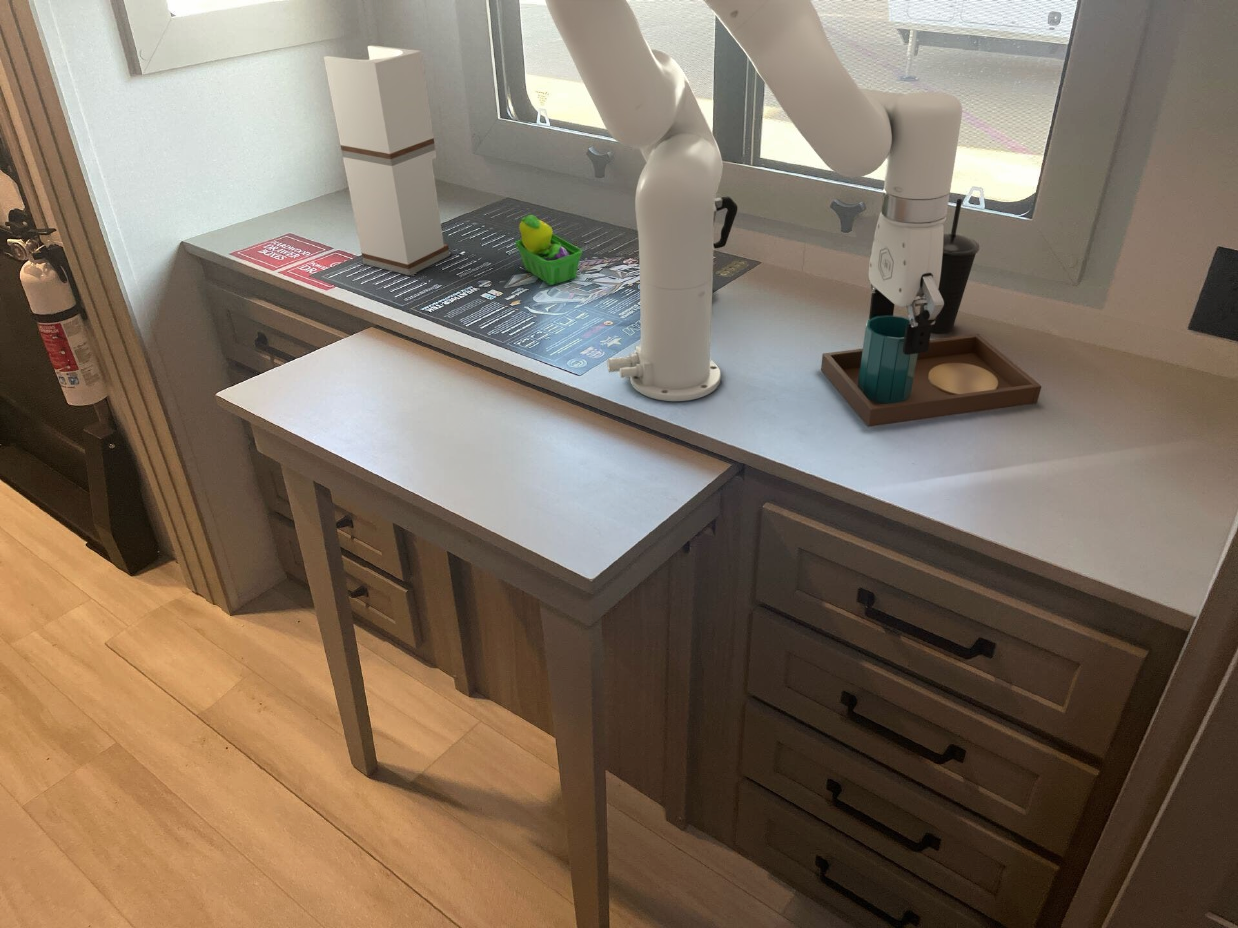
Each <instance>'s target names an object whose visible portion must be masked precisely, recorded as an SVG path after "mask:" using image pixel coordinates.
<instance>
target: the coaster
mask: <svg viewBox="0 0 1238 928" xmlns="http://www.w3.org/2000/svg"><path fill="white" fill-rule="evenodd" d="M928 378H929V381H930V383H931V384H932V385H933V386H935V387H936V388H938V389H939V390H941V391H944V392H946V393H949V394H952V395H957V394H965V393H972V392H979V391H987V390H994V389H997V387H998V380H997V378H996V377H995V376H994V375H993V374H992V373H991V372H989V371H987V370H985V369H983V368H981V367H978V366H974V365H970V364H964V363H946V364H941V365H938V366H936V367H934V368H932V369H931V370H930V372H929V375H928Z"/></svg>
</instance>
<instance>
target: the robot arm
mask: <svg viewBox="0 0 1238 928" xmlns="http://www.w3.org/2000/svg"><path fill="white" fill-rule="evenodd" d="M544 1H545V3H546V7H547V9H548V12H549V14H550V16H551V19H552V20H553V21H552V22H553V23H554V25H555V28H556V30H557V31H558V33H559V35H560V37H561V39H562V40H563V43H564V45H565V47H566V49H567V51H568V53H569V54H570V57H571V59H572V61H573V63H574V65H575V68H576V71H577V73H578V74H579V76H580V78H581V80H582V82H583V84H584V87H585V88H586V90H587V92H588V94H589V97H590V98H591V100H592V102H593V104H594V106H595V108H596V110H597V112H598V115H599V117H600V118H601V121H602V123H603V126H604V127H605V129H606V131H607V133H609V135H610V136H611V137H612V139H613V140H615V141H616V142H617V143H618V144H620V145H622V146H623V147H625V148H629V149H634V150H639V151H640V153H641V155H642V158H643V159H644V162H645V165H644V166H643V169H642V170H641V173H640V175H639V178H638V181H637V185H636V190H635V200H634V202H635V203H634V204H635V205H634V207H635V219H636V228H637V238H638V239H637V240H638V257H639V258H638V259H639V260H638V261H639V262H638V264H639V310H640V315H639V316H640V345H636V346H635V347H634V348H635V349H634V351H635V352H634V353H629V354H628V356H622V357H620V356H617V357H609V358H606V368H607V372H608V373H615V372H616V373H617V372H619V377H620V379H624V378H629V380H630V383H631V386H632V388H634V389H635V390H636V391H637V392H638V393H640V394H642V395H643V396H646V397H648V398H650V399H654V400H657V401H664V402H687V401H693V400H697V399H701V398H703V397H705V396H707V395H710V394H711V393H713V392H714V391H715V390H717V388H718V387H719V385H720V384H721V381H722V380H721V379H722V378H721V377H722V375H721V374H722V373H721V368H720V367H719V366H718V365H717V364H716V363H715V362H714V361H713V360H711V342H712V341H711V340H712V314H713V312H712V311H713V310H712V308H713V299H712V293H713V283H714V278H713V277H714V246H713V243H714V227H713V219H714V205H715V198H717V194H718V190H719V186H720V183H721V178H722V175H723V158H722V154H721V151H720V148H719V145H718V143H717V141H716V138H715V137H714V134H713V132H712V130H711V128H710V125H709V123H708V122H707V119H706V117H705V115H704V113H703V110H702V107H701V106H700V104H699V101H698V99H697V97H696V95H695V92H694V91H693V88H692V86H691V84H690V82H689V80H688V77H687V76H686V74H685V72H684V71H683V69H682V68H681V67H680V65H679V64H678V62H676V60H675V59H674V58H672V57H671V56H670V55H668V54H666V52H665V53H664V52H662V51H660V50H657V49H652V48H651V47H650V45H649V44H648V41H647V39H646V38H645V35H644V33H643V31H642V28H641V26H640V23H639V21H638V19H637V17H636V15H635V12H634V11H633V9H632V7H631V5H630V4H629V3H628V1H627V0H544ZM703 2H704V3H705V5H707V6H708V8H709V9H710V10H711V12H712V13H713V14H714V15H715V17H716V18H717V19H718V20H719V22H720V23H721V24H722V25H723V27H724V28H725V29H726V31H728V33H729V34H730V36H731V37H732V38H733V39H734V41H735V42H736V43H737V45H739V47H740V48H741V49H742V51H743V52H744V53H745V55H746V56H747V57H748V59H749V61H750V62H751V65H753V67H754V69H755V71H756V72H757V74H758V75H759V77H760V78H761V79H762V81H763V82H764V83H765V85H766V86H767V88H768V89H769V90H770V92H771V93H772V95H773V97H774V98H775V100H776V101H777V103H778V105H780V107H781V108H782V110H783V112H784V113H785V115H786V116H787V117H788V119H789V120H790V122H791V123H792V124H793V126H794V127H795V128H796V130H797V131H798V132H799V133H800V135H801V136H802V138H803V139H804V140H805V141H806V142H807V143H808V145H809V146H810V147H811V148H812V149H813V151H814V152H815V154H816V155H817V156H818V158H819V159H820V160H822V162H823V163H824V164H825V166H827V167H828V168H829V169H830V170H832V171H833V172H834V173H836V174H838V175H840V176H842V177H846V178H861V177H865V176H868V175H871V174H872V173H874V172H875V171H877V170H878V169H879V168H880V167H881V166H882V165H883V164H884V163H885V161H886V166H885V175H884V183H883V191H882V192H883V193H882V200H881V209H880V212H879V216H878V219H877V223H876V227H875V232H874V236H873V241H872V247H871V251H870V258H869V259H870V260H869V267H868V275H867V276H868V280H869V283H870V290H871V296H870V304H869V312H868V313H869V314H868V320H870V319H872V318H874V317H876V316H883V315H894V311H895V306H896V307H898V308H906V311H907V317H908V318H909V321H910V324H906V330H905V337H904V344H903V353H904V354H905V355H909V354H916V353H923V352H927V351H928V349H929V342H930V340H931V335H932V333H931V329H932V325H933V324H935V320H937V319H938V318H939V313H940V311H941V310H942V308H943V306H944V300H943V298H942V296H941V294H940V292H939V290H938V288H939V282H940V275H941V266H942V255H943V233H944V223H945V222H946V220H947V215H948V207H949V201H950V195H951V188H952V182H953V176H954V169H955V162H956V157H957V156H956V155H957V149H958V142H959V137H960V130H961V123H962V117H963V106H962V102H961V101H960V99H959V98H957V97H956V96H954V95H952V94H950V93H945V92H939V91H918V92H917V91H915V92H911V93H907V94H906V93H897V92H887V91H883V90H877V89H876V90H875V89H868V88H860V86H859V85H858V84H857V83H856V81H855V80H854V79H853V77H852V76H851V74H850V73H849V72H848V70H847V69H846V68H845V66H844V64H843V63H842V62H841V59H840V58H839V56H838V55H837V53H836V51H835V50H834V48H833V47H832V45H831V42H830V41H829V38H828V36H827V33H826V32H825V29H824V27H823V24H822V21H821V18H820V15H819V14H818V11H817V10H816V8H815V6H814V4H813V3H812V1H811V0H703ZM916 297H919V298H918V299H916ZM921 298H922V299H921ZM923 305H924V311H922V312H921V313H920V312H919V313H918V312H917V307H920V306H923Z"/></svg>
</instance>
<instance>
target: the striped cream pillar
mask: <svg viewBox="0 0 1238 928" xmlns="http://www.w3.org/2000/svg"><path fill="white" fill-rule="evenodd" d="M367 52H368V59H358V58H357V59H356V58H347V57H341V56H340V57H339V56H332V55H325V56H323V61H324V68H325V73H326V77H327V82H328V88H329V92H330V98H331V104H332V108H333V115H334V119H335V124H336V128H337V134H338V138H339V144H340V150H341V155H342V159H343V165H344V172H345V174H346V175H345V176H346V181H347V186H348V191H349V196H350V201H351V206H352V212H353V217H354V221H355V227H356V233H357V237H358V243H359V249H360V253H361V259H362V264H364V265H368V266H371V267H375V268H379V269H381V270H386V271H390V272H395V273H397V274H402V275H406V276H413V275H414V274H416V273H418V272H420V271H422V270H424V269H426V268H429V266H432V265H434V264H436V263H437V262H440V261H441V260H444V259H446V258H448V257H450V255H451V254H450V249H449V244H446V243H445V242H444V238H443V237H444V236H443V230H442V222H441V214H440V208H439V207H440V206H439V201H438V195H437V186H436V178H435V172H434V166H433V160H435V159H437V153H436V145H435V137H434V132H433V131H434V130H433V122H432V116H431V107H430V102H429V101H430V99H429V94H428V88H427V79H426V72H425V64H424V58H423V51H422V50H417V49H408V48H398V47H392V46H391V47H390V46H382V45H381V46H380V45H368V46H367Z"/></svg>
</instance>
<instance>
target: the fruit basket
mask: <svg viewBox="0 0 1238 928" xmlns="http://www.w3.org/2000/svg"><path fill="white" fill-rule="evenodd" d="M518 229H519V232H520V239H518V240H516V241H515V242H514V244H515V246H516V249H518V252H519V256H520V258H521V261H522V263H523V266H524V269H525V270H526V271H528V272H530V273H531V274H532V275H533V276H535V277H537V278H539V279H540V280H541V281H543V282H545V283H546V284H547V285H550V286H553V285H555V284H560V283H564V282H567V281H569V280H574V279H576V278H577V272H578V268H579V265H580V260H581V257H582V254H583V249H581V248H579V247H578V246H576V245H574V244H572V243H571V242H569V241H566V240H565V239H564V238H561V237H560V236H558V235H557V234H554V233H553V232H554V231H553V228H552V227H551V225H549V224H548V223H546V222H544V221H543V220H540V219H539V218H538V217H537V216H535V215H534V214H528V215H526V216H525V217H524V216H523V217H522V218H521V219H520V223H519V225H518Z"/></svg>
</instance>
